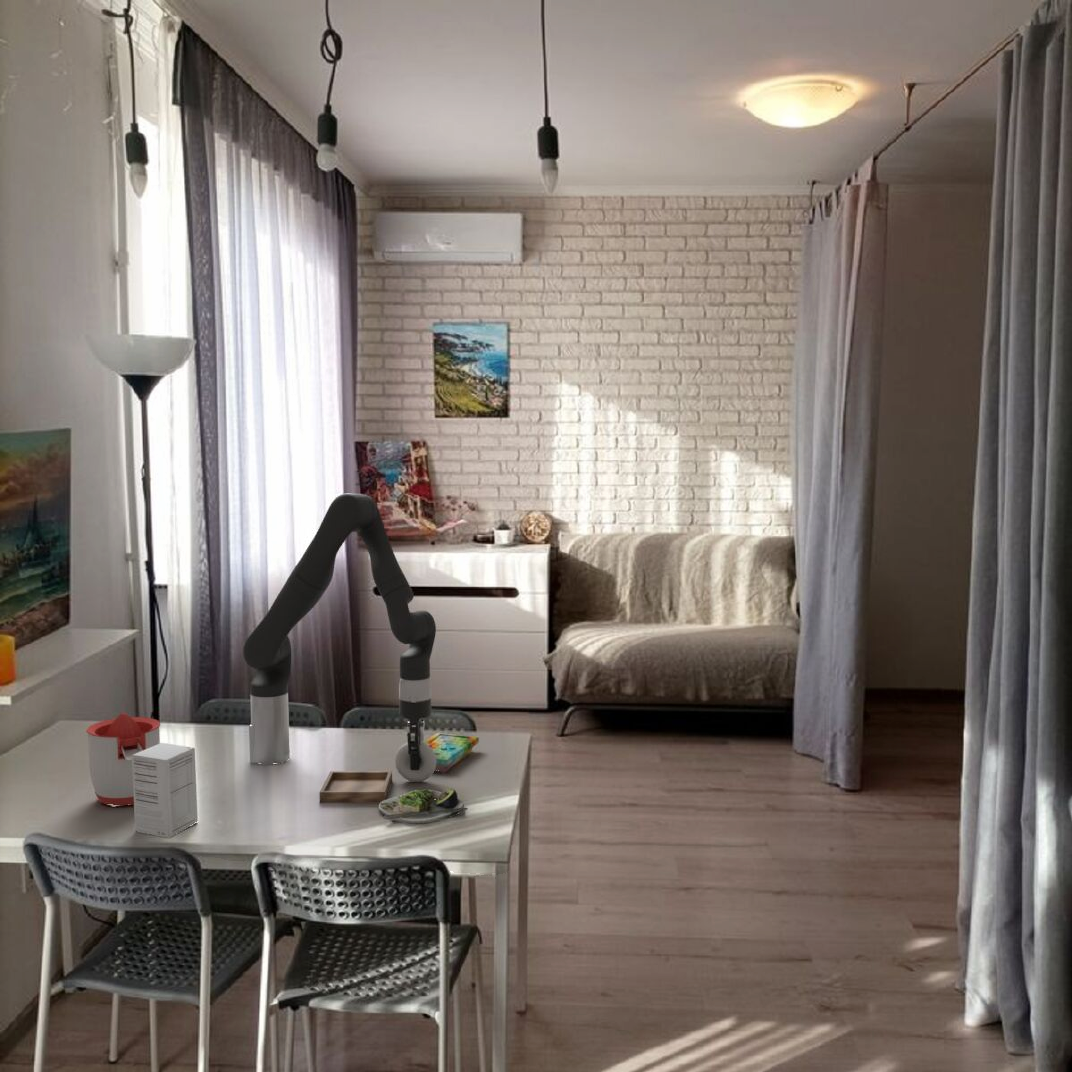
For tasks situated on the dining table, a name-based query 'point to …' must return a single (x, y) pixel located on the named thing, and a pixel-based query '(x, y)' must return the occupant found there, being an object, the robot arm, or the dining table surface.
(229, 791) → the dining table surface
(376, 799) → the display tray
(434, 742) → the puzzle game
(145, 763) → the supplement box
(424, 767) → the white ring
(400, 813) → the salad plate
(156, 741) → the citrus juicer
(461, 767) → the dining table surface
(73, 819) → the dining table surface
